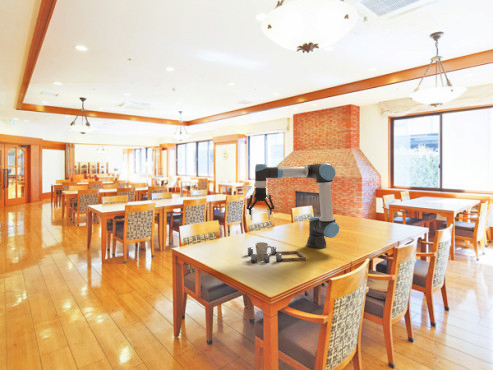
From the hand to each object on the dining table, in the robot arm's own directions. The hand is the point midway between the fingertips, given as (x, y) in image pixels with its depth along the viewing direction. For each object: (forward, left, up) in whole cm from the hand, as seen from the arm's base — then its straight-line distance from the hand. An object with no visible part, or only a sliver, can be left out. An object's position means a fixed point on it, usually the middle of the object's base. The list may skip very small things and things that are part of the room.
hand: (260, 219), depth 184 cm
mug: (-3, 0, -27) cm, 27 cm away
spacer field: (-3, 0, -26) cm, 27 cm away
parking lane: (-21, 0, -26) cm, 33 cm away
